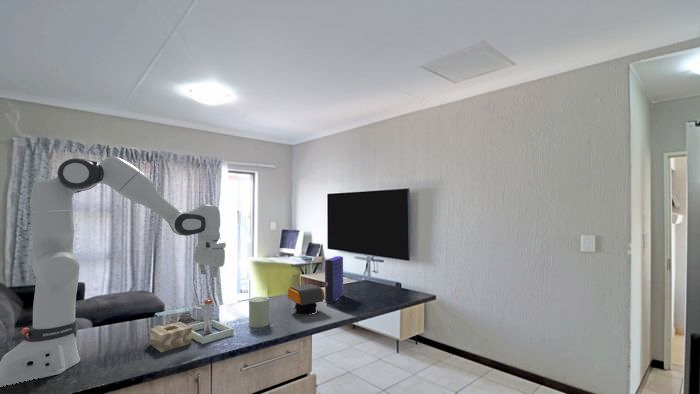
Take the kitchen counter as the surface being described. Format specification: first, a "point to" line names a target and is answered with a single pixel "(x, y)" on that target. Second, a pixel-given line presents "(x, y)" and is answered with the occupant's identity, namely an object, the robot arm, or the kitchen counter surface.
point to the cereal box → (333, 278)
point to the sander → (306, 298)
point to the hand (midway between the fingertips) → (208, 275)
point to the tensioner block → (170, 336)
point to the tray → (208, 338)
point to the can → (258, 312)
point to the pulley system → (185, 319)
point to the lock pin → (207, 317)
